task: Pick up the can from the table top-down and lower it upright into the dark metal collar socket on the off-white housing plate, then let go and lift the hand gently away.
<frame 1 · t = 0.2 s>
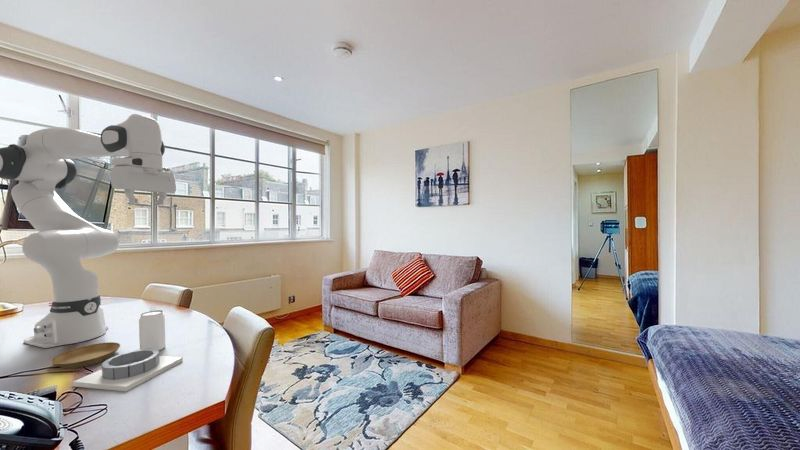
hand: (147, 204, 105), 47 cm above the table, tool pointing down, fingers open, 8 cm apart
plant saucer: (87, 361, 93), on the table
housing base: (132, 372, 84), on the table
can: (152, 350, 100), on the table
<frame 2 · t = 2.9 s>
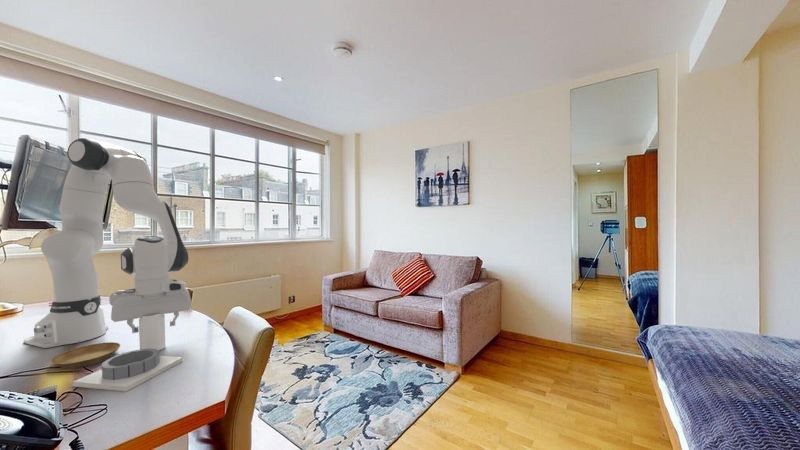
hand: (154, 328, 100), 7 cm above the table, tool pointing down, fingers open, 8 cm apart
nothing on the table moved.
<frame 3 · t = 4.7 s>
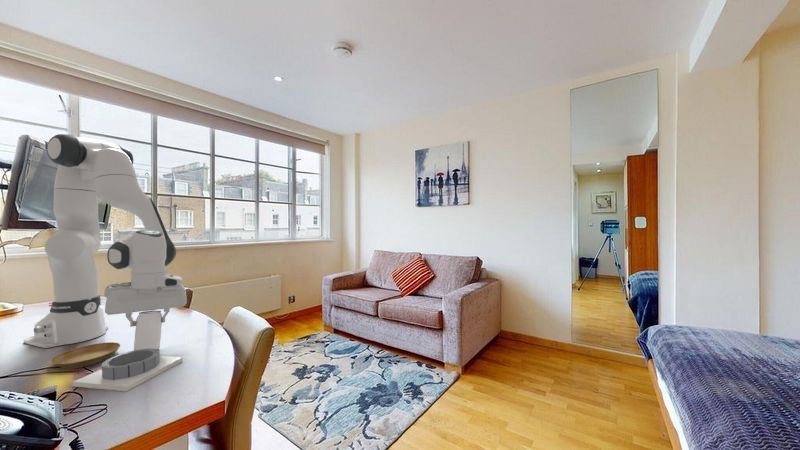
hand: (148, 324, 99), 9 cm above the table, tool pointing down, fingers open, 6 cm apart
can: (146, 351, 98), on the table, touching gripper
everything else where it was.
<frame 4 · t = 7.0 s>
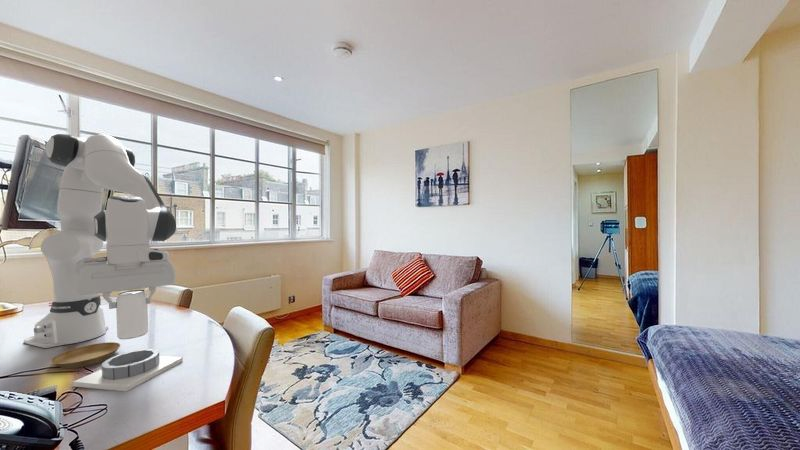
hand: (131, 305, 84), 18 cm above the table, tool pointing down, fingers closed on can, 6 cm apart
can: (133, 336, 85), point 10 cm above the table, touching gripper
everything else where it was.
when the fingers open (9 cm above the table, at t = 8.6 s): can stays where it is, resting on housing base.
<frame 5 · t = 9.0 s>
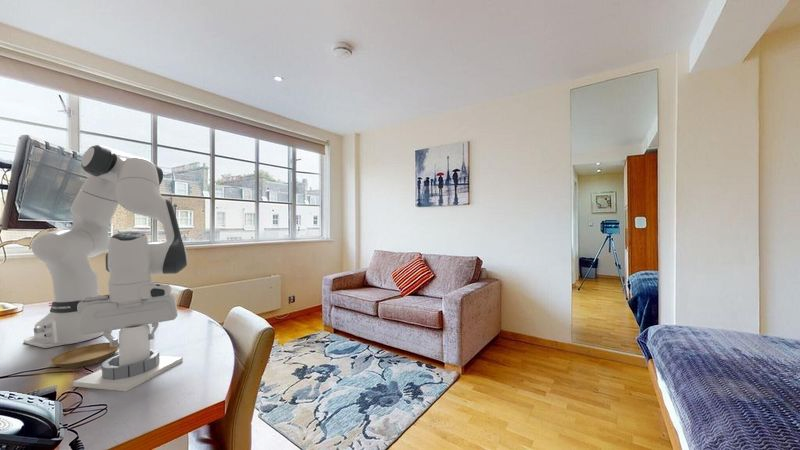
hand: (132, 342, 84), 8 cm above the table, tool pointing down, fingers open, 6 cm apart
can: (135, 367, 85), point 1 cm above the table, touching gripper, housing base
everything else where it was.
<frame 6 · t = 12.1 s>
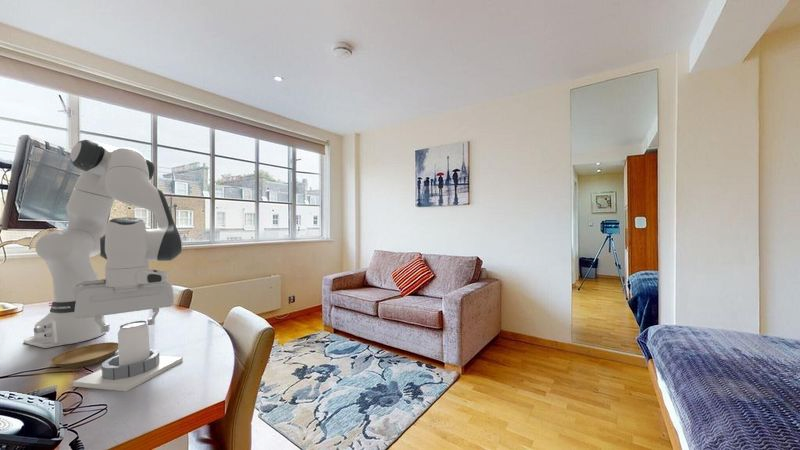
hand: (128, 328, 84), 13 cm above the table, tool pointing down, fingers open, 8 cm apart
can: (135, 367, 85), point 1 cm above the table, touching housing base
everything else where it was.
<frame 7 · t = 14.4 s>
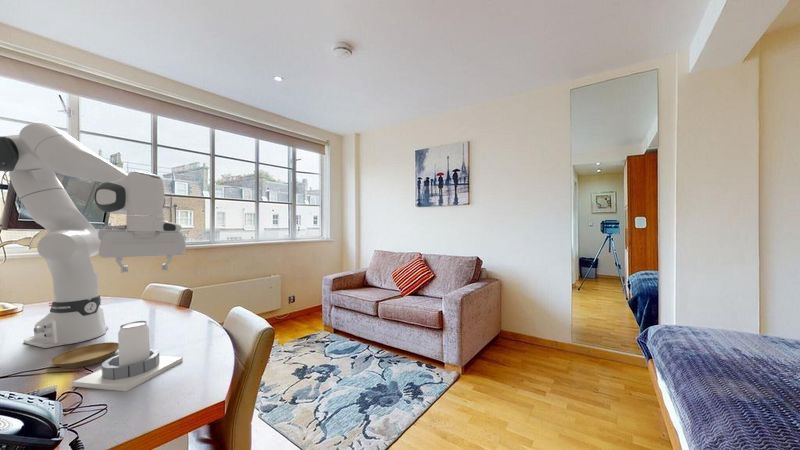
hand: (145, 271, 93), 26 cm above the table, tool pointing down, fingers open, 8 cm apart
nothing on the table moved.
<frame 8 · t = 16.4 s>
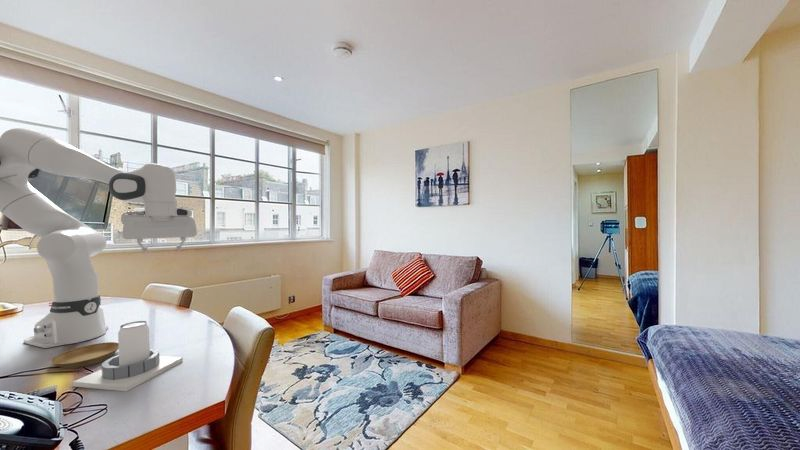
hand: (162, 251, 106), 31 cm above the table, tool pointing down, fingers open, 8 cm apart
nothing on the table moved.
at the end: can 0.8 cm off-centre on the housing base, point 1.0 cm above the housing base's base; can tilted 0°; the gripper is holding nothing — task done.
